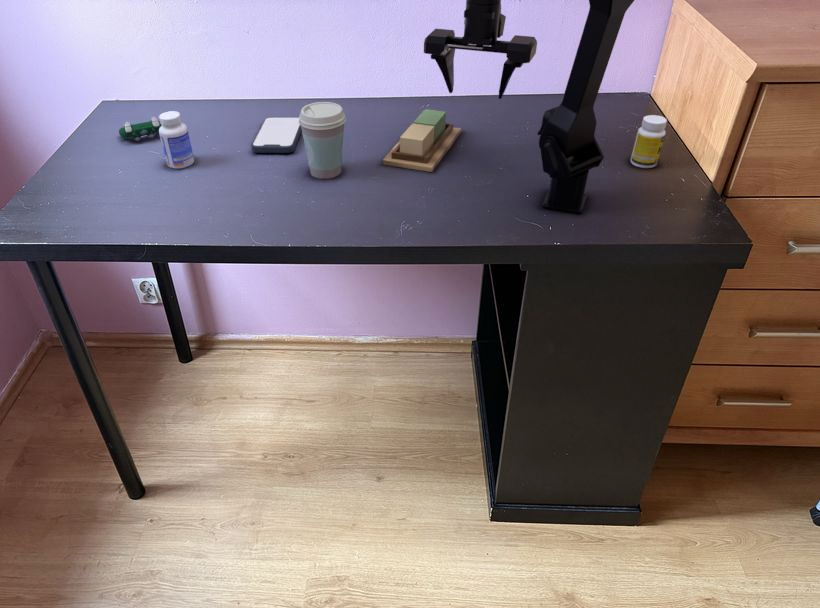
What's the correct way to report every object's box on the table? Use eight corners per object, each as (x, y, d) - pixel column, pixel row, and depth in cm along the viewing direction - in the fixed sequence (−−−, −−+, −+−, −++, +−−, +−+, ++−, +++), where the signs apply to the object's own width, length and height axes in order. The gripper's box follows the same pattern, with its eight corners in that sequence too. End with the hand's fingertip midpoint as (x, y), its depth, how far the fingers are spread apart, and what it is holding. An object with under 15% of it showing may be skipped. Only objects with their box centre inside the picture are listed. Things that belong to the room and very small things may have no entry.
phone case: (265, 124, 144) (250, 154, 132) (264, 116, 143) (249, 146, 131) (305, 124, 144) (293, 154, 131) (305, 116, 143) (293, 146, 130)
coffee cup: (313, 160, 129) (308, 98, 121) (354, 165, 127) (352, 103, 119) (296, 179, 123) (289, 116, 115) (339, 185, 121) (335, 121, 113)
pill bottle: (200, 159, 131) (190, 111, 125) (183, 171, 128) (172, 122, 121) (177, 155, 133) (167, 107, 127) (161, 166, 129) (149, 118, 123)
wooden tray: (432, 172, 124) (432, 161, 122) (382, 164, 127) (382, 153, 125) (460, 133, 137) (461, 122, 135) (415, 126, 140) (415, 116, 138)
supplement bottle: (658, 169, 121) (671, 125, 116) (631, 168, 122) (642, 123, 116) (654, 158, 125) (667, 114, 119) (628, 157, 125) (639, 113, 120)
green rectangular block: (434, 144, 130) (435, 124, 128) (413, 141, 132) (413, 121, 129) (445, 130, 135) (446, 111, 133) (424, 128, 137) (425, 108, 134)
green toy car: (123, 148, 141) (121, 136, 135) (118, 131, 141) (116, 119, 135) (166, 139, 144) (166, 128, 138) (161, 123, 144) (160, 111, 138)
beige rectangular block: (421, 160, 125) (422, 140, 123) (399, 157, 127) (399, 137, 124) (433, 145, 130) (434, 126, 127) (412, 142, 131) (412, 123, 129)
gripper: (549, -8, 112) (536, 85, 122) (444, -14, 118) (440, 75, 128) (535, 9, 105) (522, 107, 115) (424, 1, 110) (421, 95, 121)
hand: (475, 95), depth 120 cm, fingers open, 9 cm apart
